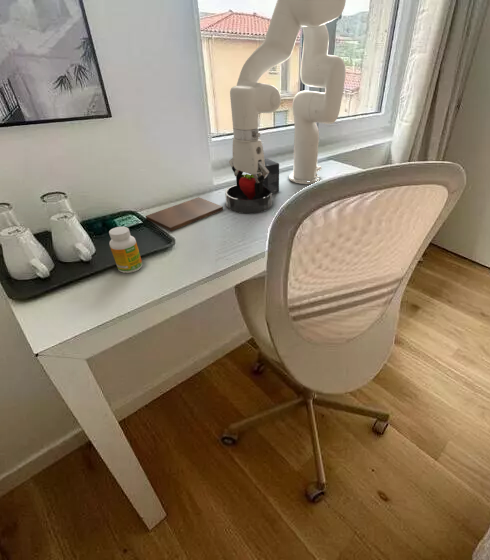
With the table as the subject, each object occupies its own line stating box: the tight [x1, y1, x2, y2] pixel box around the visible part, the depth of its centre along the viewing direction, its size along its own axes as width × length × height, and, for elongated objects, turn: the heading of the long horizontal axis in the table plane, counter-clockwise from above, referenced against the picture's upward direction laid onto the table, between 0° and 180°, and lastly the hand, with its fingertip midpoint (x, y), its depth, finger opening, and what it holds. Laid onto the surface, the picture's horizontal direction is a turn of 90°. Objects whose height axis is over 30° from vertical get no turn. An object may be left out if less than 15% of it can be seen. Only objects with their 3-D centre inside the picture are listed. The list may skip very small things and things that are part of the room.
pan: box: [224, 184, 273, 215], centre depth 108 cm, size 15×15×4 cm
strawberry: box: [239, 173, 256, 199], centre depth 105 cm, size 6×8×10 cm
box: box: [257, 158, 280, 195], centre depth 117 cm, size 8×6×11 cm
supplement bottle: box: [108, 226, 143, 274], centre depth 73 cm, size 5×5×10 cm
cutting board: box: [145, 196, 224, 232], centre depth 100 cm, size 20×12×1 cm, turn 144°
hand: (249, 190), depth 107 cm, fingers closed on strawberry, 7 cm apart
